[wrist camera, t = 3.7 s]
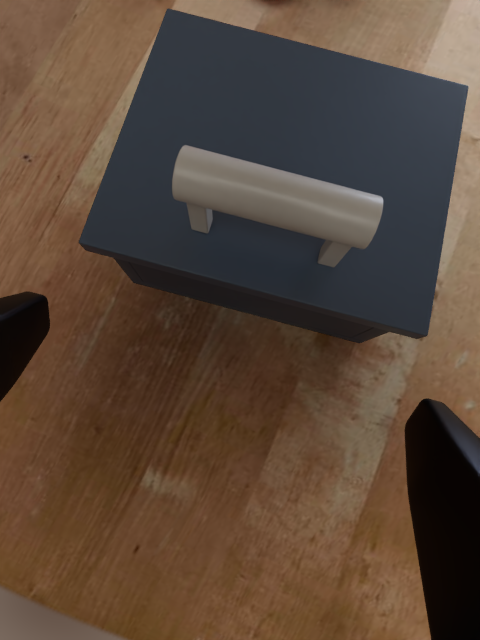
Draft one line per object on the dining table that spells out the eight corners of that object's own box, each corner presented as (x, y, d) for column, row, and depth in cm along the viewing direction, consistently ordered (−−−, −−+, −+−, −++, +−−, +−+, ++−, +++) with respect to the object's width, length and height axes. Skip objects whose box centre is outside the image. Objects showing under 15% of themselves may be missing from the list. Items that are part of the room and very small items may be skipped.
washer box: (359, 343, 22) (419, 320, 15) (133, 282, 22) (92, 233, 15) (392, 183, 24) (457, 100, 17) (185, 128, 24) (169, 26, 17)
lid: (417, 339, 15) (507, 313, 10) (85, 250, 15) (21, 184, 10) (457, 99, 17) (546, -13, 12) (169, 25, 17) (148, -114, 13)
